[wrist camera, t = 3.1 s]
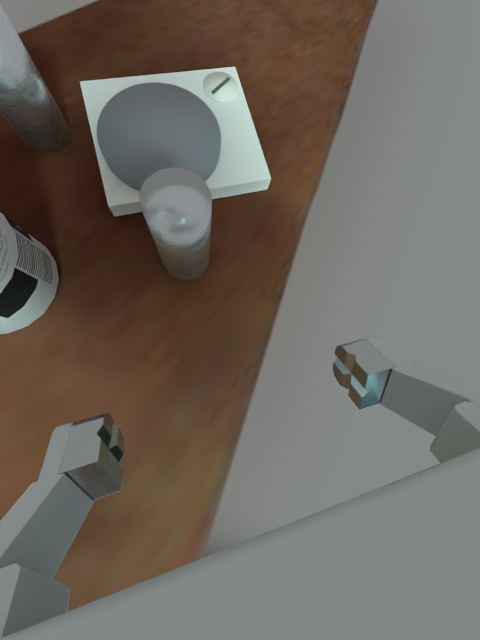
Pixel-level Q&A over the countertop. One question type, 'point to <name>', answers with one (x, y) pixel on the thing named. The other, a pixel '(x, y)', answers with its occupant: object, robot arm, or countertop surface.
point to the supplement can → (23, 277)
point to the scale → (173, 133)
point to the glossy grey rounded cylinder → (179, 220)
